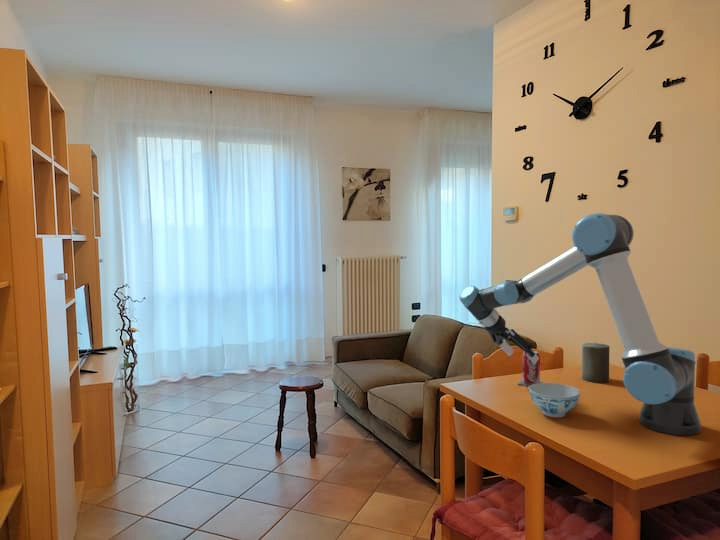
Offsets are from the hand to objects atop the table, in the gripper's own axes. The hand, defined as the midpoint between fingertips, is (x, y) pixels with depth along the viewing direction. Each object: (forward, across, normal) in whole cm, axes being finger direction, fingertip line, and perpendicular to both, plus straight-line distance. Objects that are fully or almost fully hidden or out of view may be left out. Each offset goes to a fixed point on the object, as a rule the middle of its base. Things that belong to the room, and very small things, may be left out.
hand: (523, 357), depth 182 cm
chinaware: (-1, +28, -17) cm, 33 cm away
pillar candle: (+29, +5, +14) cm, 33 cm away
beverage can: (+9, +1, -5) cm, 11 cm away
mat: (+10, +1, -5) cm, 11 cm away
